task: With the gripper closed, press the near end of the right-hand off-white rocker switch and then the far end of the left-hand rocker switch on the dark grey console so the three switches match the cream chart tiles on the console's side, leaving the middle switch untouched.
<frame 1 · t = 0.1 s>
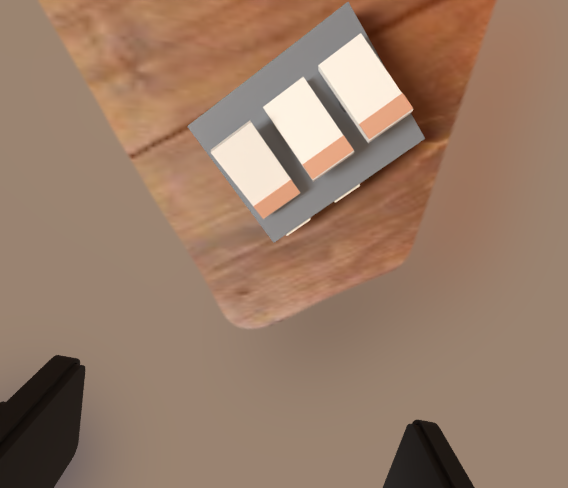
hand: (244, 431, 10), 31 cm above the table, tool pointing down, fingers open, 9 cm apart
rocker A: (364, 89, 31), point 6 cm above the table, hinge at 14.0°
rocker B: (308, 130, 32), point 6 cm above the table, hinge at 14.0°
rocker C: (257, 172, 33), point 6 cm above the table, hinge at -14.0°
console: (304, 133, 37), on the table
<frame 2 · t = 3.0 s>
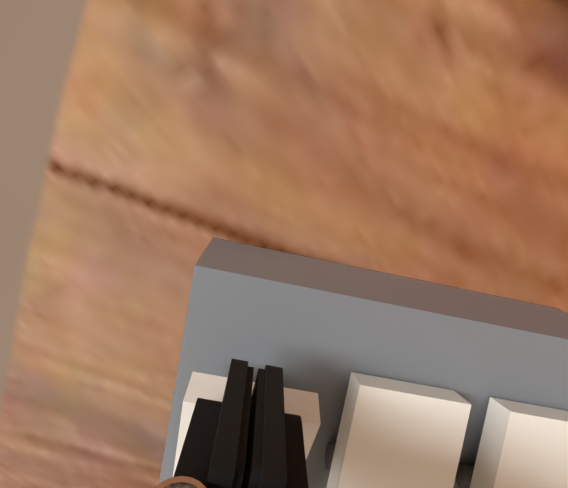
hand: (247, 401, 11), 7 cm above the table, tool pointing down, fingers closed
rocker C: (235, 471, 13), point 6 cm above the table, hinge at -10.7°, touching gripper
console: (355, 392, 19), on the table
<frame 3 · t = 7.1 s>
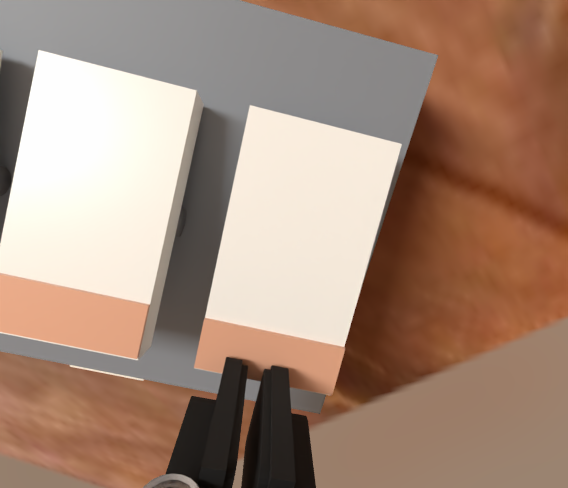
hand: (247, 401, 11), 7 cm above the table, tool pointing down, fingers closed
rocker A: (292, 257, 11), point 6 cm above the table, hinge at 7.1°, touching gripper
rocker B: (98, 210, 11), point 6 cm above the table, hinge at 14.0°
console: (161, 189, 16), on the table
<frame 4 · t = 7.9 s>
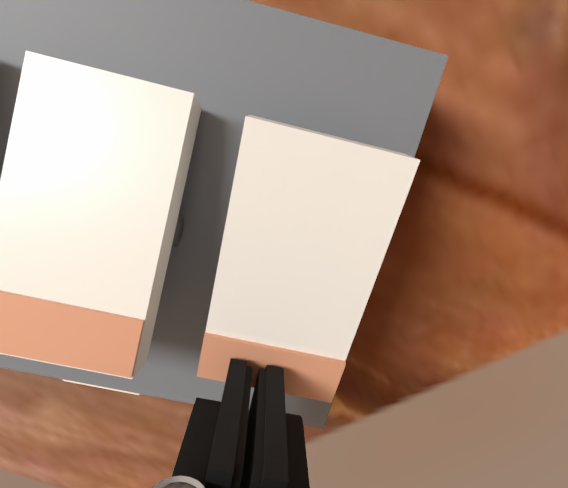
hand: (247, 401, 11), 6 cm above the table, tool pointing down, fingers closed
rocker A: (294, 273, 10), point 6 cm above the table, hinge at -4.8°, touching gripper
rocker B: (90, 220, 10), point 6 cm above the table, hinge at 14.0°
console: (158, 194, 16), on the table
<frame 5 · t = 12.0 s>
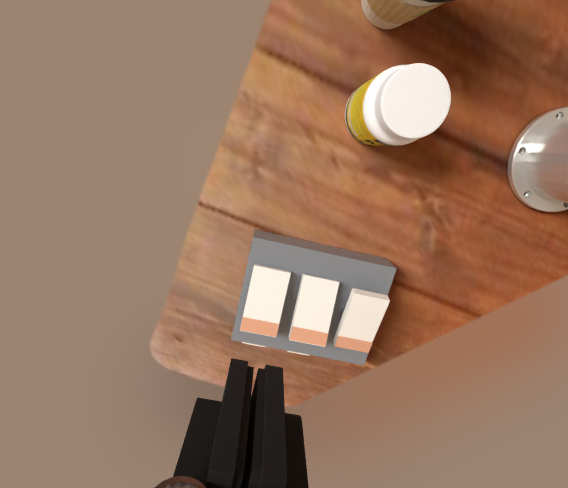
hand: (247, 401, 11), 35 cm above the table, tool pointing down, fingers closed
rocker A: (360, 321, 43), point 6 cm above the table, hinge at -8.9°
rocker B: (313, 310, 43), point 6 cm above the table, hinge at 14.0°
rocker C: (265, 300, 42), point 6 cm above the table, hinge at 9.6°
supplement bottle: (373, 114, 42), on the table
console: (308, 292, 48), on the table
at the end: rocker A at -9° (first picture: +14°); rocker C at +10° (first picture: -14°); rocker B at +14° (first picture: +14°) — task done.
